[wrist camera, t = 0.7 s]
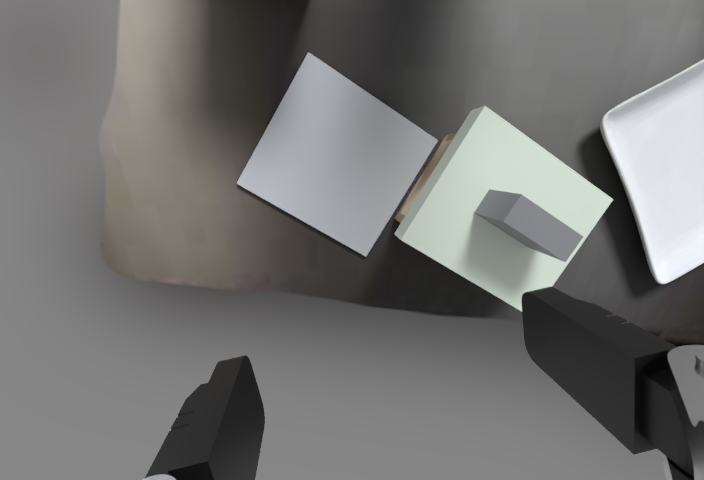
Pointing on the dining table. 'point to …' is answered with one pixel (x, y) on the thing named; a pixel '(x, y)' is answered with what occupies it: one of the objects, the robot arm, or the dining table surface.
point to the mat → (336, 157)
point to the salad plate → (663, 169)
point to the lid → (502, 210)
